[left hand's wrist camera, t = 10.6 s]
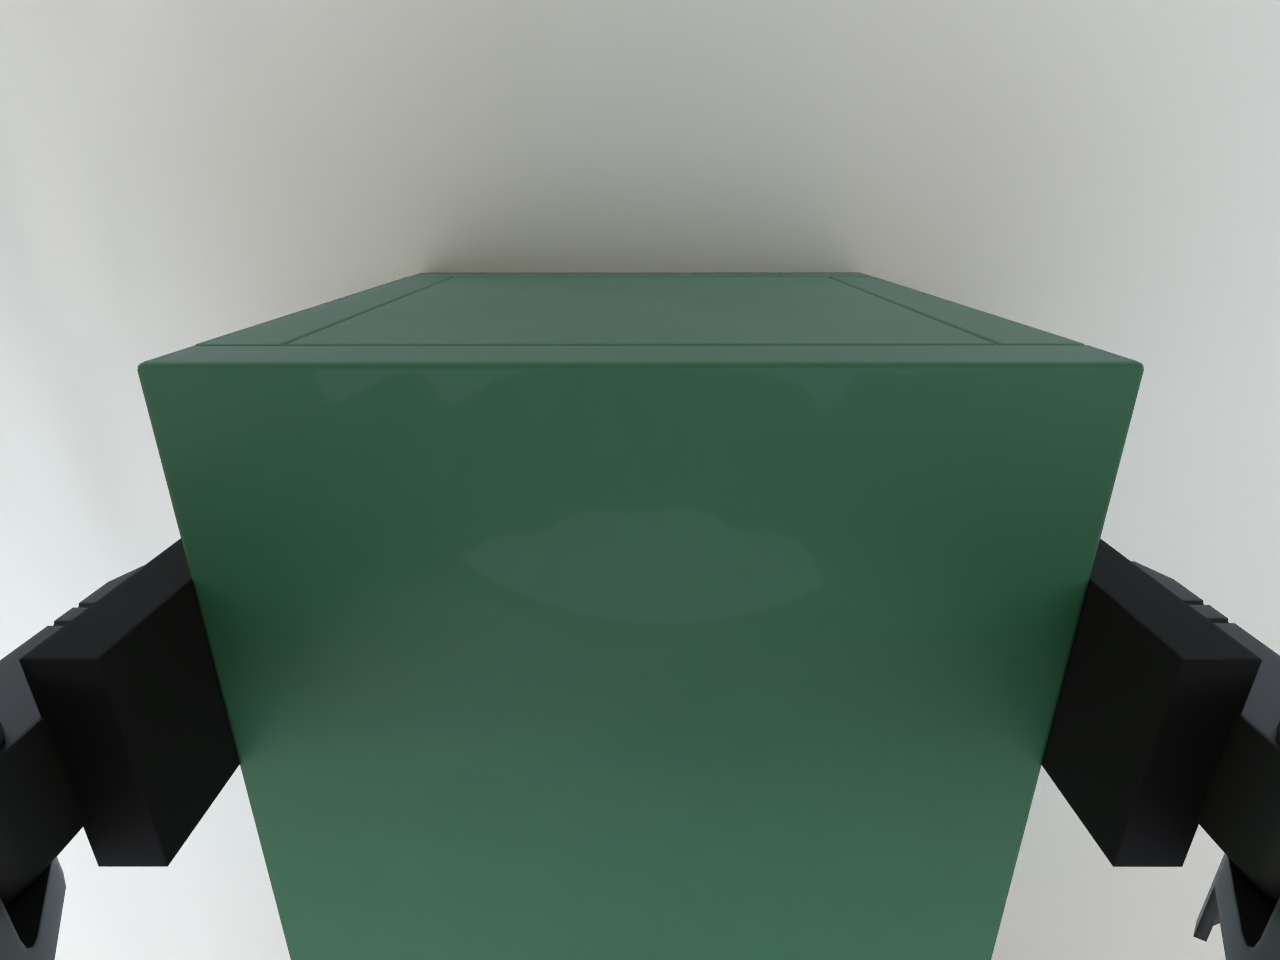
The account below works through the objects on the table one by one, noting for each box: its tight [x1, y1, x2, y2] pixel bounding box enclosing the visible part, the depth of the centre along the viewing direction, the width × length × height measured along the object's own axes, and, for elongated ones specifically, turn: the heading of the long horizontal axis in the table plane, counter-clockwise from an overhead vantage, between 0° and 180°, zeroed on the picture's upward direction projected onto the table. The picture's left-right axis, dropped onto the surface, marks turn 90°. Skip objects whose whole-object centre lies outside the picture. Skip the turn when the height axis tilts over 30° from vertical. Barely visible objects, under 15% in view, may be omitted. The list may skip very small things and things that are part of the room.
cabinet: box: [138, 273, 1144, 960], centre depth 15 cm, size 19×10×10 cm, turn 0°
